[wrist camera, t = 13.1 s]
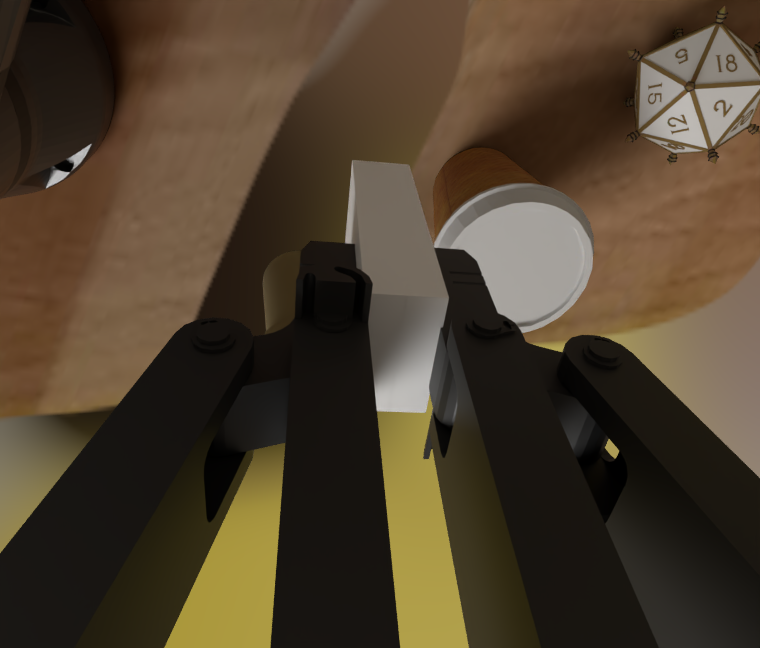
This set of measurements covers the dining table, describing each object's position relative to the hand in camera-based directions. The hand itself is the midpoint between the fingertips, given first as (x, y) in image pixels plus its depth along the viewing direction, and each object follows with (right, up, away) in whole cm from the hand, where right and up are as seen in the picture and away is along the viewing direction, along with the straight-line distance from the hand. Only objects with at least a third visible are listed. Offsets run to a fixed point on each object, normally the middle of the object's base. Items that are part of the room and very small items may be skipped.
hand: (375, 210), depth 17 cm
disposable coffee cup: (+7, +7, +28) cm, 30 cm away
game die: (+19, +13, +25) cm, 34 cm away
